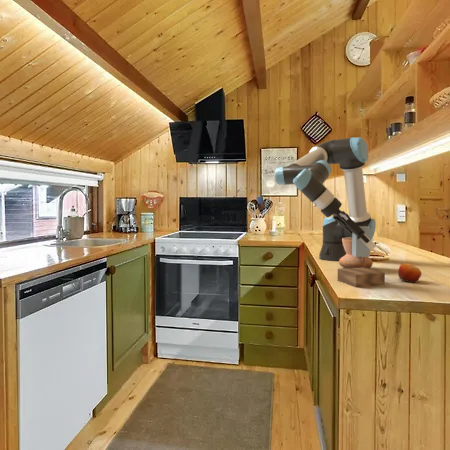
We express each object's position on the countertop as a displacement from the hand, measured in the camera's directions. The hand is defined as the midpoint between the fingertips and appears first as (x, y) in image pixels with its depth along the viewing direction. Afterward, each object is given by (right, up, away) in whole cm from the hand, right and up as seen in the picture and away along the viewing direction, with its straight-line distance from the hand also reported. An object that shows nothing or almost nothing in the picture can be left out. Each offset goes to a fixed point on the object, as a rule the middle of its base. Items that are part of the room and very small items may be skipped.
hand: (370, 247), depth 136 cm
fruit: (+16, -14, +4) cm, 22 cm away
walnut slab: (-4, -14, +1) cm, 14 cm away
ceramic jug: (+5, -12, +29) cm, 32 cm away
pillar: (-4, -3, 0) cm, 5 cm away
